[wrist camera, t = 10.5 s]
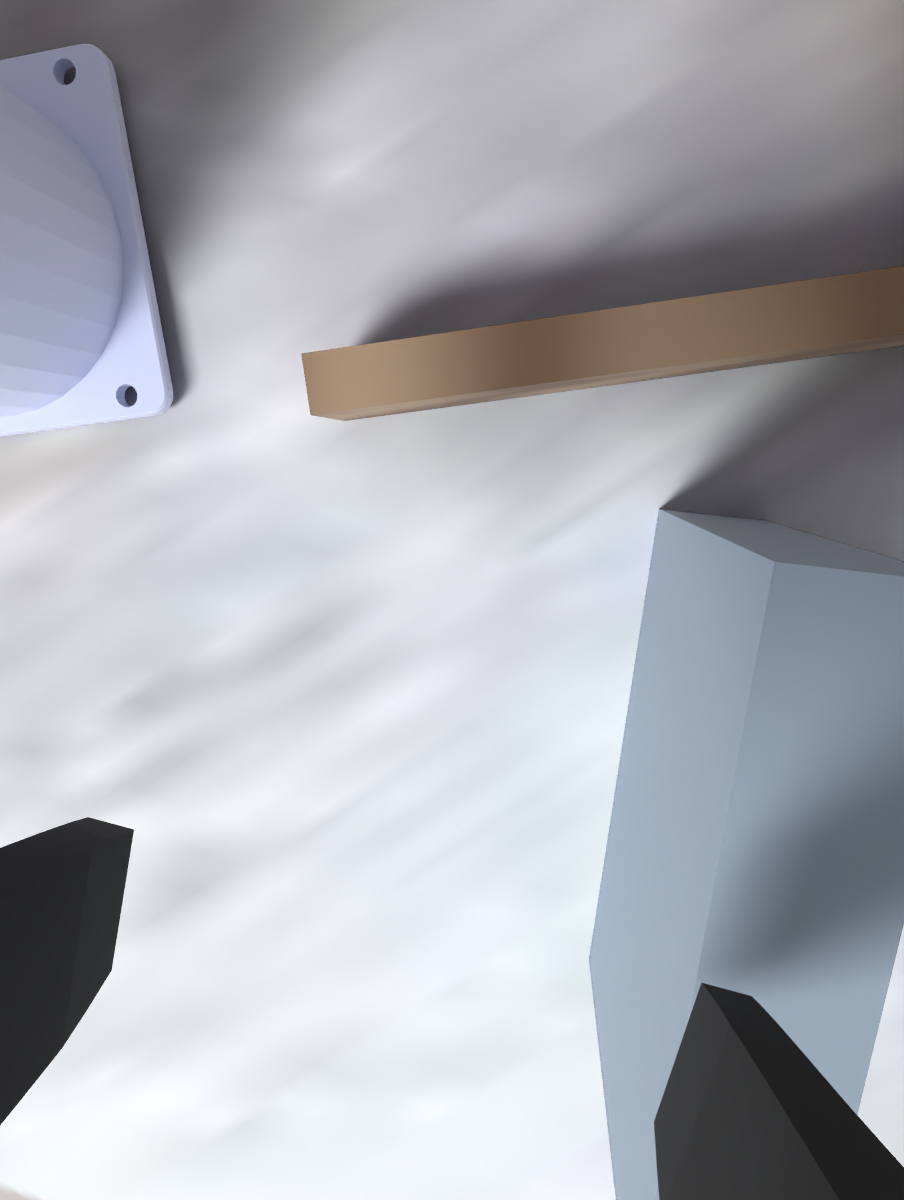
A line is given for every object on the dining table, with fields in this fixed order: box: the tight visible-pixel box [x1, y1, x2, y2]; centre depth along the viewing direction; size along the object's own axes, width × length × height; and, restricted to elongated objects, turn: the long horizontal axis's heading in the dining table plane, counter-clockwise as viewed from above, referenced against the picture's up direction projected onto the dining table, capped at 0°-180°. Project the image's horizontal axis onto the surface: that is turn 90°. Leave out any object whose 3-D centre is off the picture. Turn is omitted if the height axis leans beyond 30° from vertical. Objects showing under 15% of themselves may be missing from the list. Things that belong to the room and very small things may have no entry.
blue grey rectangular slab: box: [589, 509, 904, 1200], centre depth 15 cm, size 2×12×9 cm, turn 174°
